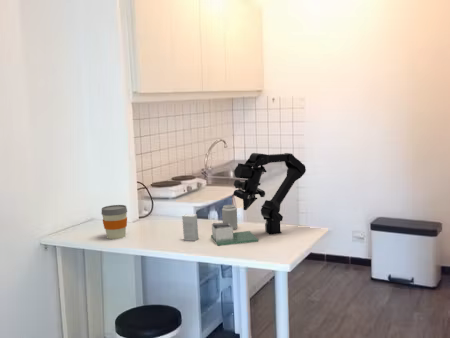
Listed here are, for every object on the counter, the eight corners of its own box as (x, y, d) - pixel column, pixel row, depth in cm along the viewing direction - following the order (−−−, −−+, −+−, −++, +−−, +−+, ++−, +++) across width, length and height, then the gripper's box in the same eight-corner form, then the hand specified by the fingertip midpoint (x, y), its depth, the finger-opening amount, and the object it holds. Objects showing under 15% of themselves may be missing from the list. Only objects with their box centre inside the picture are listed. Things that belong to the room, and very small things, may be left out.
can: (238, 226, 268) (237, 203, 266) (237, 230, 260) (235, 207, 259) (223, 227, 269) (222, 204, 267) (222, 230, 261) (221, 207, 260)
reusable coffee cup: (98, 237, 260) (96, 208, 258) (119, 232, 269) (117, 203, 267) (113, 241, 251) (110, 211, 249) (134, 235, 261) (131, 206, 259)
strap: (226, 224, 245) (226, 222, 245) (228, 225, 241) (228, 224, 241) (212, 224, 244) (212, 223, 243) (214, 226, 240) (214, 225, 240)
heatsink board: (249, 233, 254) (248, 217, 253) (258, 241, 239) (257, 224, 238) (211, 236, 251) (210, 220, 250) (217, 245, 235) (216, 228, 234)
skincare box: (198, 238, 249) (197, 214, 247) (195, 241, 245) (193, 216, 243) (187, 238, 251) (185, 213, 249) (183, 240, 247) (181, 215, 245)
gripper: (251, 172, 256) (243, 202, 260) (228, 174, 241) (220, 205, 245) (269, 180, 250) (260, 210, 254) (247, 182, 235) (238, 214, 239)
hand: (244, 209), depth 248 cm, fingers closed
